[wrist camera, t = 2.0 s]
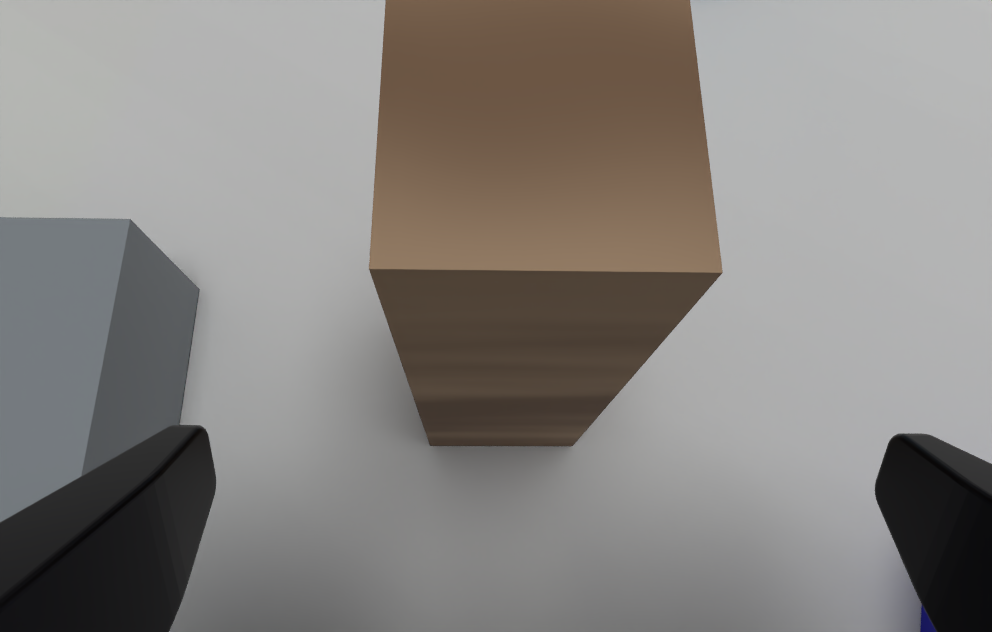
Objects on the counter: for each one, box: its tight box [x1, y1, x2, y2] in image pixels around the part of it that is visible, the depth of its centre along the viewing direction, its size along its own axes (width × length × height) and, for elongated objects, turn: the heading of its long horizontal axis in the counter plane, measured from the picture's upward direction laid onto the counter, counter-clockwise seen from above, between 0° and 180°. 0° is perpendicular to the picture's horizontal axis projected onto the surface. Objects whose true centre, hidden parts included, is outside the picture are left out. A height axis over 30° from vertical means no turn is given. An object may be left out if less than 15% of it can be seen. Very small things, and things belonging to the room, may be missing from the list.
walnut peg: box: [369, 0, 723, 446], centre depth 14 cm, size 4×4×12 cm
